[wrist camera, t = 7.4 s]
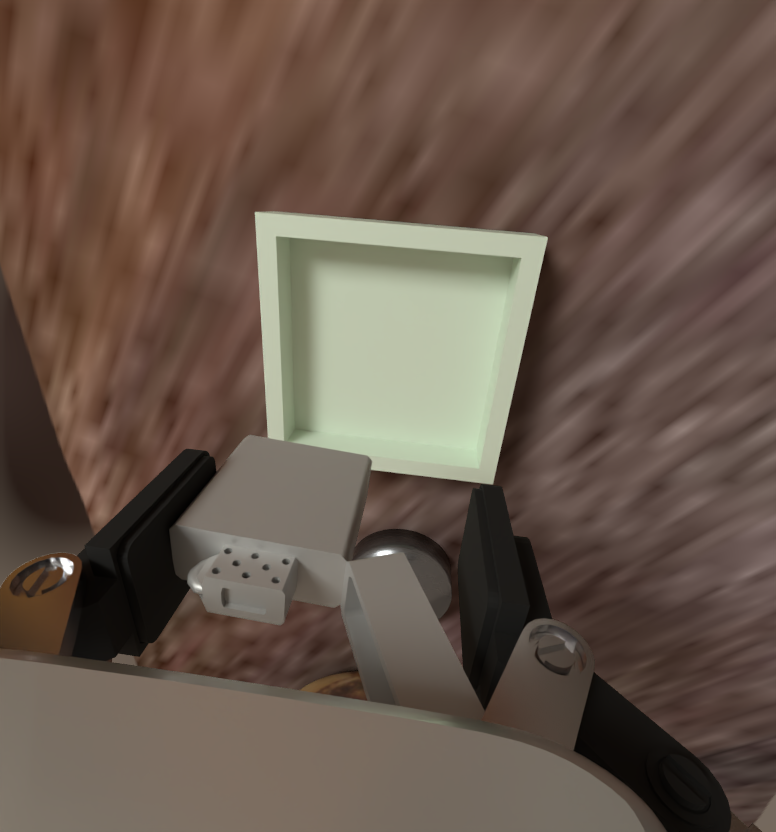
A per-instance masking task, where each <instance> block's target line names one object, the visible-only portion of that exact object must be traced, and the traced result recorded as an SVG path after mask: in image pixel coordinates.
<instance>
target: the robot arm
mask: <svg viewBox="0 0 776 832" xmlns="http://www.w3.org/2000/svg"><path fill="white" fill-rule="evenodd" d="M215 473H216V465H215V459H214V458H213V457H210V455H209V453H208V452H207V451H202V450H194V449H185V450H184V451H183V452H182V453H180V454H179V455H178V456H177V457H176V458H175V459H174V460H173V461H172V462H171V463H170V464H169V465H168V466H167V467H166V468H165V469H164V470H163V471H162V472H161V473H160V474H159V475H158V476H157V477H155V478H154V479H153V480H152V481H151V482H150V483H149V484H148V485H147V486H146V487H145V488H144V489H143V490H142V491H141V492H140V493H139V494H138V495H137V496H136V497H135V498H134V499H133V500H132V501H130V502H129V503H128V504H127V505H126V506H125V507H124V508H123V509H122V510H121V511H120V512H119V513H118V514H117V515H116V516H115V517H114V518H113V519H112V520H111V521H110V522H109V523H108V524H107V525H105V526H104V527H103V528H102V529H101V530H100V531H99V532H98V533H97V534H96V535H95V536H94V537H93V538H92V539H91V540H90V541H89V542H88V543H87V544H86V545H85V549H84V550H82V551H81V553H79V554H78V555H77V556H76V555H74V554H72V553H52V554H48V555H44V556H40V557H38V558H35V559H33V560H31V561H28V562H27V563H25V564H23V565H21V566H20V567H18V568H17V569H15V570H14V571H13V572H12V573H11V574H10V575H9V576H7V578H6V579H5V581H4V582H3V584H2V585H1V587H0V832H762V831H761V830H760V829H759V828H758V827H757V826H755V825H754V824H753V823H752V824H751V825H750V826H749V827H747V826H746V825H745V824H744V823H743V822H742V821H741V820H740V819H739V818H738V817H737V816H736V815H735V814H734V813H733V812H731V811H730V807H729V802H728V800H727V798H726V796H725V793H724V791H723V789H722V787H721V785H720V784H719V782H718V781H717V780H716V778H715V777H714V776H713V774H712V773H711V772H710V770H709V769H708V768H707V767H706V766H705V765H704V764H703V763H702V762H701V761H700V760H699V759H698V758H697V757H696V756H694V755H693V754H692V753H691V752H690V751H688V750H687V749H686V748H685V747H683V746H682V745H681V744H680V743H679V742H677V741H676V740H675V739H674V738H673V737H671V736H670V735H669V734H668V733H667V732H665V731H664V730H663V729H662V728H661V727H659V726H658V725H657V724H656V723H655V722H653V721H652V720H651V719H650V718H648V717H647V716H646V715H645V714H644V713H642V712H641V711H640V710H639V709H638V708H636V707H635V706H634V705H633V704H632V703H630V702H629V701H628V700H627V699H626V698H624V697H623V696H622V695H621V694H619V693H618V692H617V691H616V690H615V689H613V688H612V687H611V686H610V685H609V684H607V683H606V682H605V681H604V680H603V679H601V678H600V677H599V676H598V675H597V674H595V673H594V663H595V660H594V657H593V653H592V650H591V648H590V647H589V645H588V644H587V642H586V641H585V639H584V638H583V637H582V636H581V635H580V634H579V633H578V632H577V631H575V630H574V629H572V628H571V627H569V626H568V625H566V624H564V623H562V622H559V621H557V620H552V617H551V613H550V610H549V606H548V603H547V599H546V595H545V592H544V588H543V585H542V581H541V578H540V574H539V571H538V567H537V563H536V560H535V556H534V553H533V549H532V546H531V543H530V540H529V539H528V538H527V537H519V536H513V531H512V527H511V523H510V519H509V514H508V510H507V506H506V501H505V497H504V493H503V489H502V487H501V486H494V485H486V484H481V485H480V488H479V489H476V488H473V490H472V494H471V499H470V504H469V509H468V514H467V520H466V525H465V530H464V535H463V540H462V545H461V550H460V555H459V560H458V587H459V605H460V622H461V640H462V657H463V670H464V672H465V674H466V676H467V677H468V679H469V681H470V683H471V685H472V687H473V689H474V691H475V693H476V695H477V697H478V699H479V701H480V703H481V705H482V707H483V709H484V711H485V713H484V715H483V717H482V719H481V720H477V719H471V718H465V717H460V716H454V715H448V714H443V713H437V712H431V711H426V710H420V709H414V708H408V707H402V706H396V705H389V704H383V703H377V702H370V701H364V700H358V699H351V698H345V697H339V696H332V695H326V694H320V693H313V692H307V691H300V690H294V689H287V688H281V687H274V686H268V685H261V684H254V683H248V682H241V681H235V680H228V679H221V678H215V677H208V676H201V675H195V674H188V673H182V672H175V671H168V670H161V669H154V668H147V667H140V666H133V665H127V664H120V663H112V658H114V657H116V656H117V654H118V653H119V654H126V655H132V656H139V657H140V655H141V654H142V652H143V651H144V649H145V648H146V646H147V645H148V643H153V642H155V641H156V640H157V638H158V637H159V635H160V634H161V632H162V631H163V629H164V628H165V626H166V625H167V623H168V621H169V620H170V618H171V617H172V615H173V614H174V612H175V611H176V609H177V608H178V606H179V604H180V603H181V601H182V600H183V598H184V597H185V595H186V594H187V592H188V591H189V589H190V586H189V585H188V584H187V580H182V579H181V578H179V577H178V576H177V575H176V574H175V569H174V564H173V558H172V550H171V541H170V532H169V529H170V528H171V526H172V525H173V524H174V523H175V522H176V520H177V519H178V518H179V517H180V516H181V514H182V513H183V512H184V511H185V510H186V508H187V507H188V506H189V505H190V503H191V502H192V501H193V500H194V499H195V497H196V496H197V495H198V494H199V493H200V491H201V490H202V489H203V488H204V487H205V485H206V484H207V483H208V482H209V481H210V479H211V478H212V477H213V476H214V474H215Z"/></svg>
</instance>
